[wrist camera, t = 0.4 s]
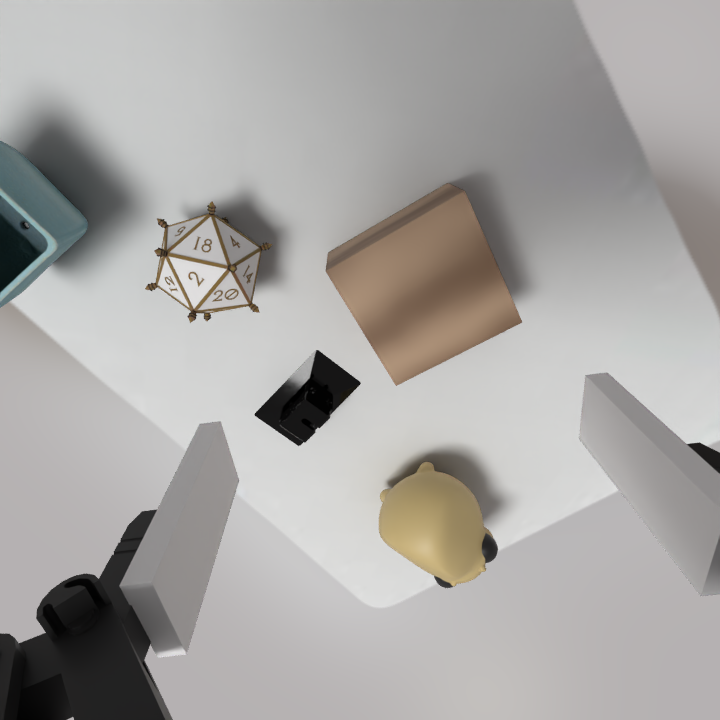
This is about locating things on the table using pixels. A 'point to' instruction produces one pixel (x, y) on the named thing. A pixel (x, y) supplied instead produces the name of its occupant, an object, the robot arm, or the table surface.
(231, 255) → the game die
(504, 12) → the table surface
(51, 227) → the flower pot
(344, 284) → the walnut block
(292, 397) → the black angular block
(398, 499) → the toy pig
